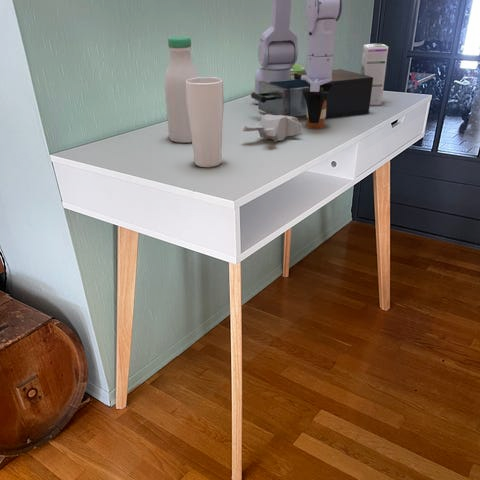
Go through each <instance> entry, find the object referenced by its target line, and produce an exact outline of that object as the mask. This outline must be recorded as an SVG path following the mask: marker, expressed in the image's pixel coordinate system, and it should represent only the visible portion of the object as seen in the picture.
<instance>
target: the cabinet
mask: <svg viewBox="0 0 480 480" xmlns="http://www.w3.org/2000/svg"><path fill="white" fill-rule="evenodd" d="M306 74H307V71H305V72H304V73H294V79H299V78H300V79H301V76H303V75H306ZM330 82H332V86H331V88H330V90H329V92H328V95H327V98H326V101H327V104H326V117H325V120H326V119H327V120H328V119H336V118H342V117H350V116H351V117H352V116H359V115H366V114H367V115H368V114H369V113H370V99H371V92H372V84H373V77H370V76H366V75H362V74H361V73H359V72H358V73H357V72H354V71H350V70H346V69H342V68H338V69H332V81H330Z"/></svg>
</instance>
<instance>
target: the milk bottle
mask: <svg viewBox="0 0 480 480" xmlns="http://www.w3.org/2000/svg"><path fill="white" fill-rule="evenodd" d="M167 43H168V45H167V46H168V50H169V53H170V54H169V57H170V58H169V60H168V61H169V62H168V65H167V68H166V71H165V76H164V94H165V107H166V109H165V110H166V118H167V129H168V130H167V131H168V137H169V139H170V141H172V142H175V143H186V144H187V143H192V137H191V130H190V124H189V117H188V110H187V101H186V80H188V79H191V78H198V77H200V76H199V73H198V70H197V68H196V66H195V64H194V61H193V59H192V54H191V50H192V47H191V46H192V39H191V37H189V36H171V37H168V39H167Z"/></svg>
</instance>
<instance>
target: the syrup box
mask: <svg viewBox="0 0 480 480" xmlns="http://www.w3.org/2000/svg"><path fill="white" fill-rule="evenodd" d="M388 54H389V46H388V45H386V44H384V43H367V44H363V48H362V58H361V69H360V74H362V75H366V76H370V77H373V84H372V92H371V99H370V106H382V102H383V94H384V87H385V78H386V72H387V61H388Z"/></svg>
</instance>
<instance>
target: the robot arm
mask: <svg viewBox="0 0 480 480" xmlns="http://www.w3.org/2000/svg"><path fill="white" fill-rule="evenodd" d="M343 5H344V0H306V3H305V19H306V30H307V32H308V41H307V58H306V72H307V74H306V75H303V76H301V80H306V81H307V82H308V83H309V84H308V86H309V89H304V90H303V95H304V97H305V100H306V104H307V109H308V118H309V123H318V122H319V120H320V116H321V111H322V107H323V103H324V100H326V98H327V95H328V92H329V90H330V88H331V86H332V82H330V81H332V70H333V65H334V64H333V63H334V51H335V41H336V28H337V22H338V21H339V20H340V18H341V16H342V14H343ZM291 11H292V0H271V19H270V20H271V21H270V26H269V27H268V28H266V30H265V31H264V32H262V33H261V34H260V37H259V44H258V47H257V48H258V49H257V60H258V63H259V65H260V66H261V67H258V68H257V69H256V70H255V71H256V72H255V76H254V93H257V94H259V81H265V82H268V83H269V81H278V80H289V79H290V70H291V68H293V65H294V64H297V61H298V57H299V46H298V36H297V34H296V32H294V31H293V30H292V29H291V28H290V25H291ZM283 40H284V41H283ZM320 87H321V88H323V91H321V90H320ZM258 102H259V101H258V100H255V99H254V101H253V104H254V105H258Z"/></svg>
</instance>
